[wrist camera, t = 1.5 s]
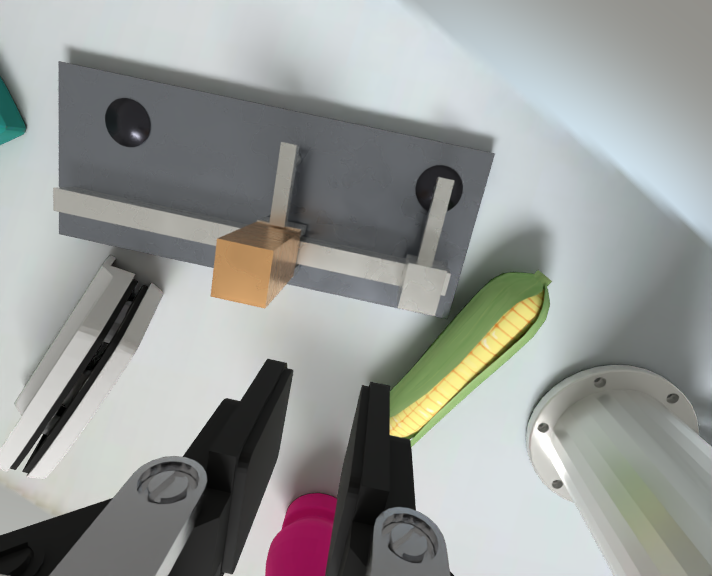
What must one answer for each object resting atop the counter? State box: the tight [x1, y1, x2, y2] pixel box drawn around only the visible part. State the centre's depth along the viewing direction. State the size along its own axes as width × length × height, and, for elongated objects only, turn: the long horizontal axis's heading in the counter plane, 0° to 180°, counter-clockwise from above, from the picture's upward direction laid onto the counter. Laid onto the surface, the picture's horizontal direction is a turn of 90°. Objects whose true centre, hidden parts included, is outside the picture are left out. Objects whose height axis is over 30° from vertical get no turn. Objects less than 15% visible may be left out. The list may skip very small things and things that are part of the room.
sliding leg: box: [211, 142, 307, 308], centre depth 26 cm, size 3×9×9 cm, turn 168°
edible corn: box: [390, 270, 552, 447], centre depth 32 cm, size 5×20×5 cm, turn 142°
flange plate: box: [59, 61, 495, 319], centre depth 31 cm, size 30×12×1 cm, turn 78°
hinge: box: [0, 255, 164, 478], centre depth 32 cm, size 17×5×10 cm, turn 141°
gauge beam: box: [53, 177, 454, 316], centre depth 28 cm, size 28×8×4 cm, turn 78°
